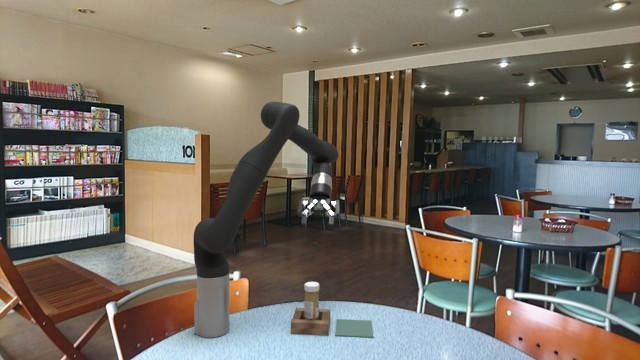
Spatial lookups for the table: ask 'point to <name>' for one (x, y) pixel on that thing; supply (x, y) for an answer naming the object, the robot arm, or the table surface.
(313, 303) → the sprinkles bottle
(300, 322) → the keeper collar
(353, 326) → the rubber mat
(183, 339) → the table surface
